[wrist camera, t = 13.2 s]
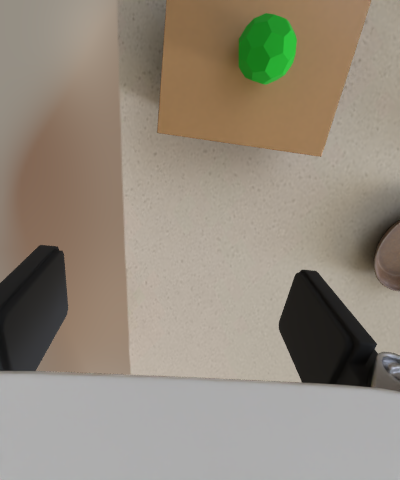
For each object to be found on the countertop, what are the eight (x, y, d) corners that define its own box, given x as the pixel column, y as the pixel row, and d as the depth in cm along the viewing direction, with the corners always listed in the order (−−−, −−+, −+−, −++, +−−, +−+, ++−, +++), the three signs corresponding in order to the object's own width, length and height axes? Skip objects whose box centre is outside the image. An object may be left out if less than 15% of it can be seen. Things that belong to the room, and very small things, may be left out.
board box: (161, 128, 34) (157, 132, 28) (174, -40, 28) (172, -86, 21) (296, 148, 37) (321, 156, 30) (339, -4, 30) (382, -36, 23)
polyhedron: (233, 24, 24) (244, 5, 20) (287, 21, 25) (309, 3, 20) (232, 87, 27) (242, 83, 22) (282, 85, 27) (301, 80, 22)
